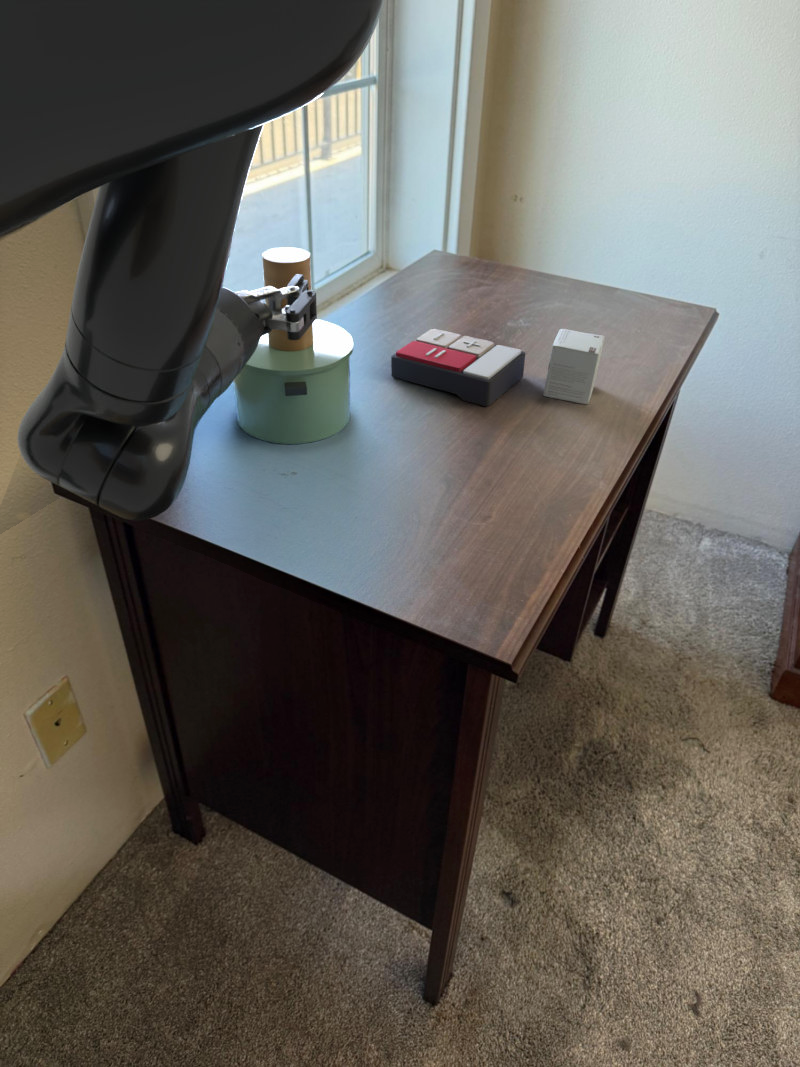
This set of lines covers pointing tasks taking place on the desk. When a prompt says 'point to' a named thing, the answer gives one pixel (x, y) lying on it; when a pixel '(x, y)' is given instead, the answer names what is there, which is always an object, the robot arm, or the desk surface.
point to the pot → (296, 388)
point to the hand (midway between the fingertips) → (259, 279)
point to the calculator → (459, 365)
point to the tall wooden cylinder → (278, 275)
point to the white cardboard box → (573, 366)
